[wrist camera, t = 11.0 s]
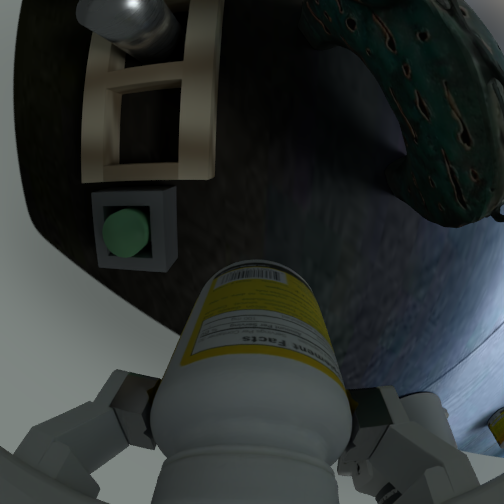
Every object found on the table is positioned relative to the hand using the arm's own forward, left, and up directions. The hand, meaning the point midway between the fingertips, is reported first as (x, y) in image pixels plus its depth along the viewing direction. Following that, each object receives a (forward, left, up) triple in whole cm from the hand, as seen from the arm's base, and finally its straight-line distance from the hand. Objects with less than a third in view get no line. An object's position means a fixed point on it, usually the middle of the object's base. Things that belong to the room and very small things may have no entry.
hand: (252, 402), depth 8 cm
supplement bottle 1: (0, 0, -6) cm, 6 cm away
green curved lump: (+13, -9, -18) cm, 24 cm away
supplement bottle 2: (-36, -53, -18) cm, 66 cm away
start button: (+1, +10, -17) cm, 20 cm away
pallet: (+13, +9, -18) cm, 24 cm away
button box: (+1, +10, -18) cm, 21 cm away
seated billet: (+17, +9, -18) cm, 27 cm away
